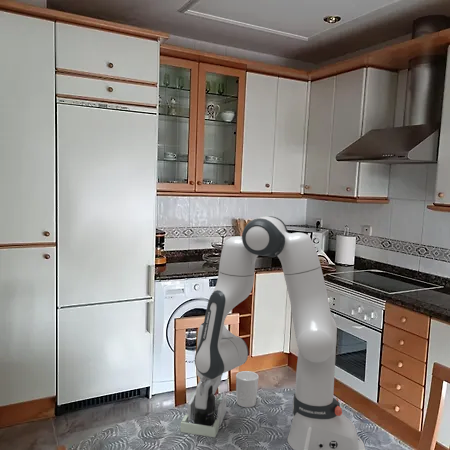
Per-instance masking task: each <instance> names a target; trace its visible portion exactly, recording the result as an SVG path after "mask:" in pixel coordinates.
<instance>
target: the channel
mask: <svg viewBox="0 0 450 450" xmlns="http://www.w3.org/2000/svg"><path fill="white" fill-rule="evenodd" d="M195 395H196V391H195V392H194V393H193V395H192V397H191V398H190V400H189V402H188V403H187V412H186V413H187V414H186V415H189V420H188V422H189V421H190V422H191V420H192V419H193V411H194V396H195ZM226 413H227V396H225V395H224V396H222V398H221V401H220V402H219V405H218V407H217V419H219V426H221V425H222V422H223V420H224V418H225V415H226Z"/></svg>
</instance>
